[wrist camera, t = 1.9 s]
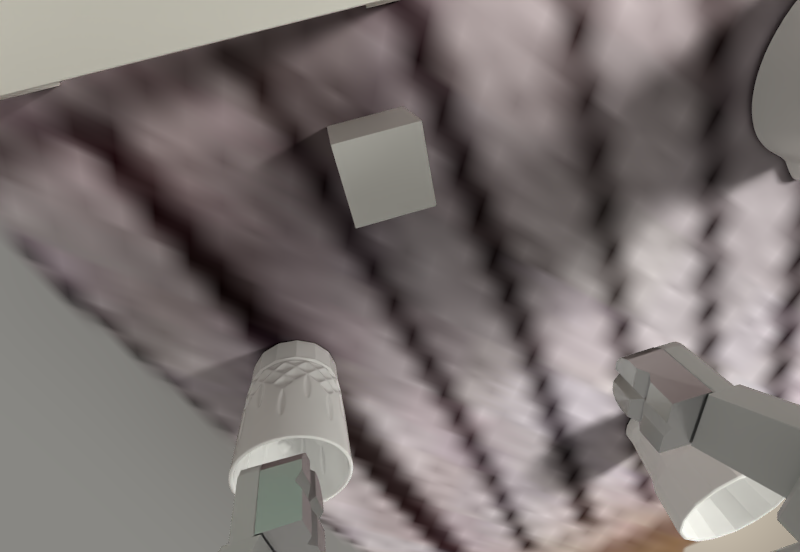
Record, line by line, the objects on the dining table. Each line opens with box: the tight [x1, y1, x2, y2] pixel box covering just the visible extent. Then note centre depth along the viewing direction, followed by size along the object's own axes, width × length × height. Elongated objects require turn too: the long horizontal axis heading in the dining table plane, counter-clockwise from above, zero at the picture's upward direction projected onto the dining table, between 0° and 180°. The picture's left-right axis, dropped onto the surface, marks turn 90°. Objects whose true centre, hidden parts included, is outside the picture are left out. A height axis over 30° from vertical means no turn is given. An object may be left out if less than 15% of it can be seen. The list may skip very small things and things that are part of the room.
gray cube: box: [327, 106, 436, 228], centre depth 25 cm, size 5×5×5 cm
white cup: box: [228, 340, 353, 502], centre depth 31 cm, size 8×8×10 cm
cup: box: [626, 418, 785, 542], centre depth 45 cm, size 12×12×11 cm
